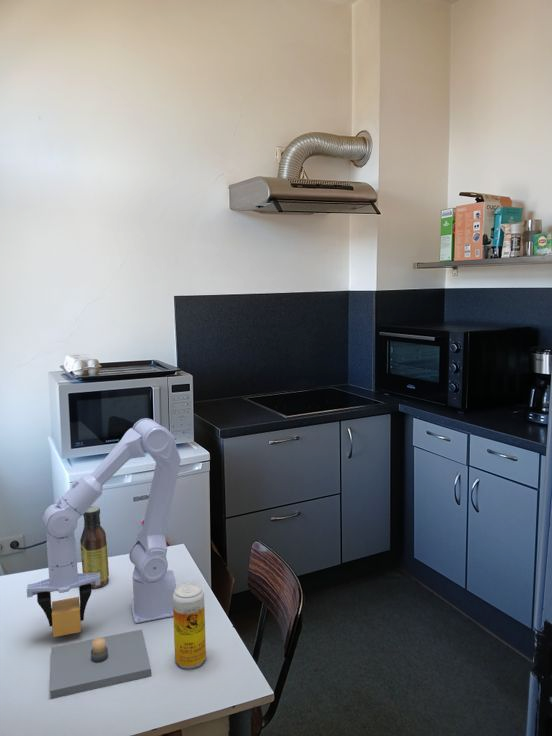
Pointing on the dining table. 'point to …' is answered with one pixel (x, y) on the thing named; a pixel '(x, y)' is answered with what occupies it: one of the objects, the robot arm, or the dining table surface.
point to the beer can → (189, 625)
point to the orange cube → (66, 616)
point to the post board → (98, 663)
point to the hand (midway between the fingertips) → (66, 621)
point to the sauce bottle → (94, 546)
